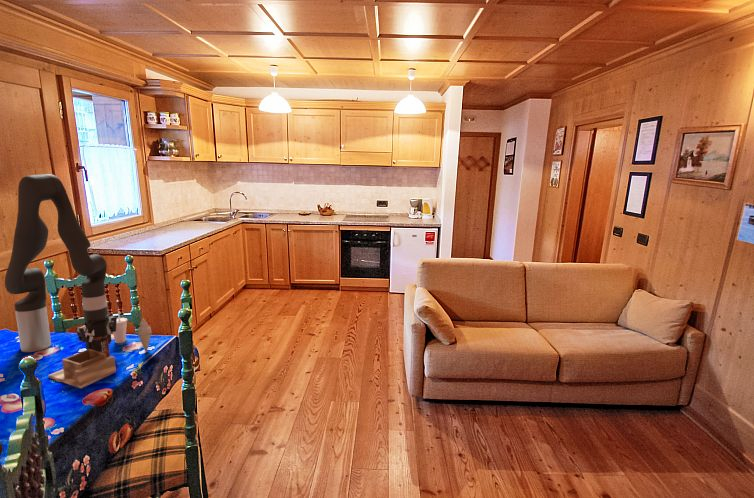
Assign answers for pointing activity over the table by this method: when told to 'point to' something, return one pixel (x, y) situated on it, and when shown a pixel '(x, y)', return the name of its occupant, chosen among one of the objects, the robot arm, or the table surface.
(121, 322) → the smoothie
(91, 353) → the socket block
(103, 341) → the deodorant
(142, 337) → the ice cream cone
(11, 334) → the table surface
